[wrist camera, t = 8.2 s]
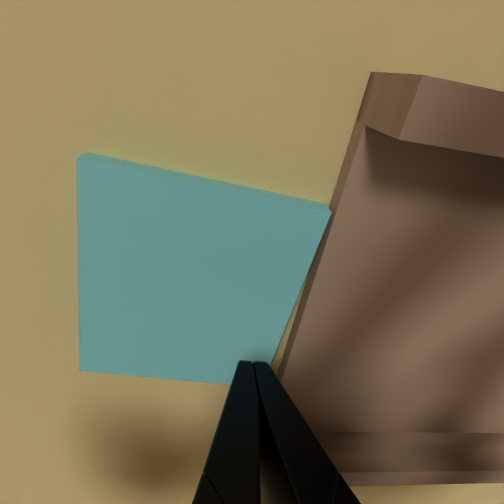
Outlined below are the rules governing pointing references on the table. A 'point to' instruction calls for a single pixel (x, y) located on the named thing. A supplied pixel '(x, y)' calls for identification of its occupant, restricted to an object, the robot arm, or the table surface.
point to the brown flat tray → (409, 292)
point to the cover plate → (185, 270)
